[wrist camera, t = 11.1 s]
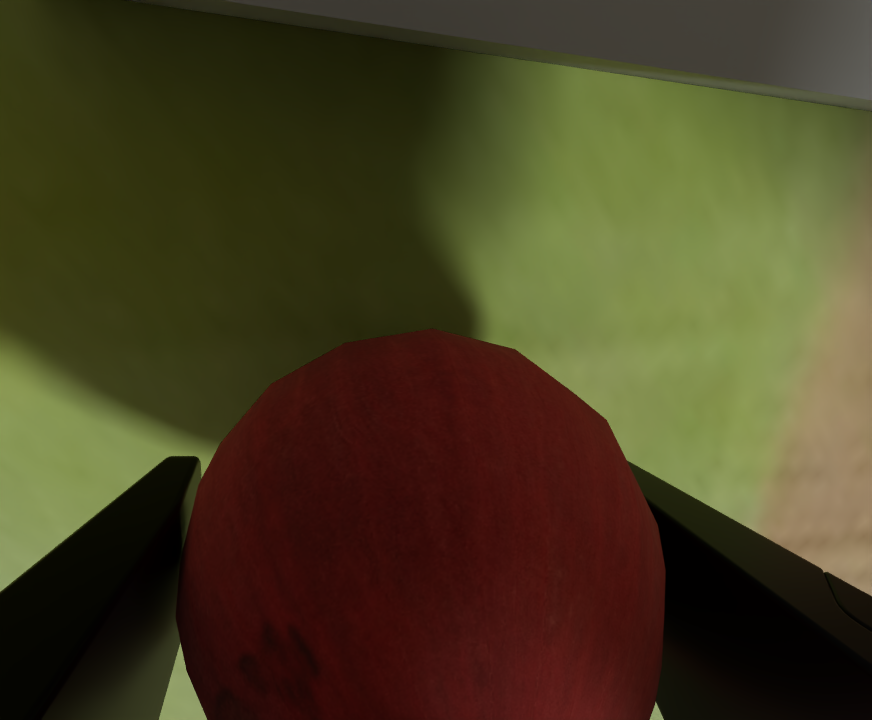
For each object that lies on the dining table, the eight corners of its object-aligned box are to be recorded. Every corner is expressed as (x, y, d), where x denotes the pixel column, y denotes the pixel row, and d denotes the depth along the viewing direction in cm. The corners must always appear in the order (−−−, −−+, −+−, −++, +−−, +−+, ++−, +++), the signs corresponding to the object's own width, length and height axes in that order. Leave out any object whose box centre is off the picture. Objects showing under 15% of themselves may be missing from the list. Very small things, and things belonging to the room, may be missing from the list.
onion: (340, 576, 13) (380, 1227, 6) (147, 376, 10) (-244, 1155, 3) (583, 439, 12) (956, 956, 5) (452, 190, 9) (865, 572, 2)
